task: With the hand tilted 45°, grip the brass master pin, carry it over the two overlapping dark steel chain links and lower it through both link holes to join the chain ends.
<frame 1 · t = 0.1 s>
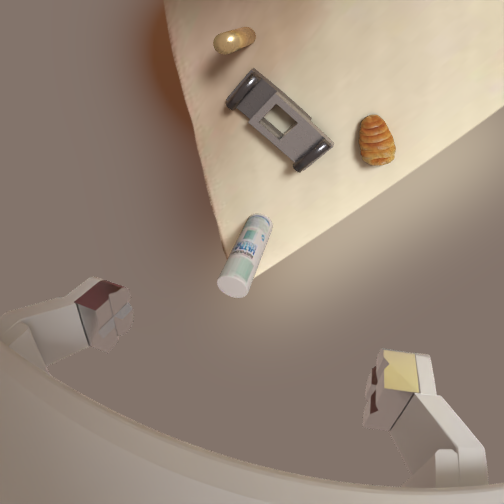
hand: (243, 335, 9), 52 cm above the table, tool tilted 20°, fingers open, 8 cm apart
pastry: (375, 139, 54), on the table
chain ends: (281, 116, 56), on the table
spray can: (260, 223, 77), on the table
master pin: (245, 36, 47), on the table
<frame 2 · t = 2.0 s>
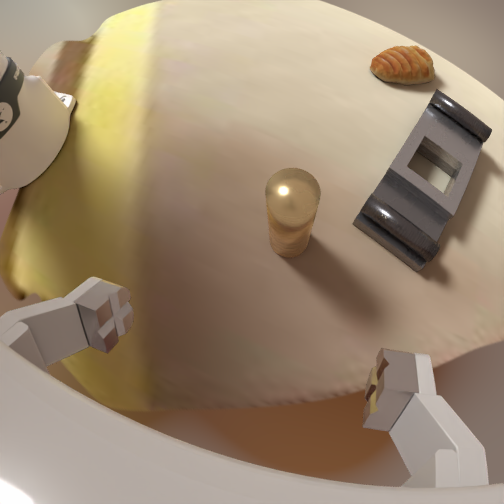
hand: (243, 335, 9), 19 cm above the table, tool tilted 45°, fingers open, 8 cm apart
pastry: (402, 73, 36), on the table
chain ends: (426, 178, 31), on the table
master pin: (289, 239, 30), on the table
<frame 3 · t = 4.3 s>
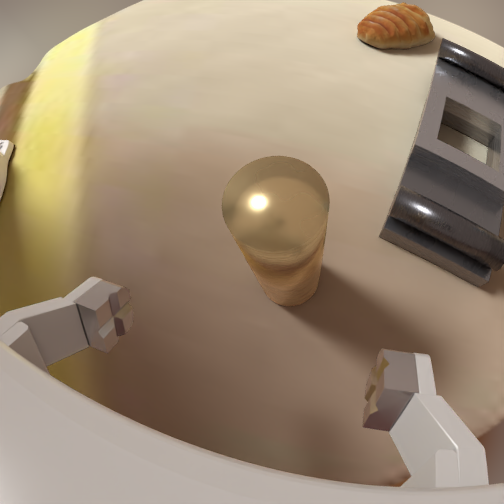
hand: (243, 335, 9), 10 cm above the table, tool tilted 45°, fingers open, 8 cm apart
pastry: (396, 37, 27), on the table
chain ends: (459, 154, 21), on the table
master pin: (290, 277, 20), on the table
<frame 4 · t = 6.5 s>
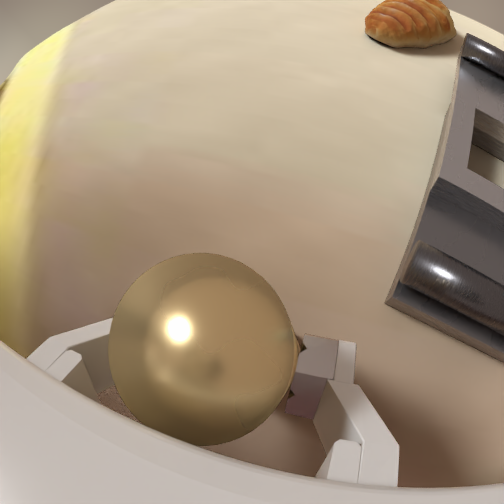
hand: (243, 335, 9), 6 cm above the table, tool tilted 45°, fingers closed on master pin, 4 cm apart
pastry: (410, 34, 22), on the table
chain ends: (488, 182, 16), on the table
master pin: (263, 358, 15), on the table, touching gripper
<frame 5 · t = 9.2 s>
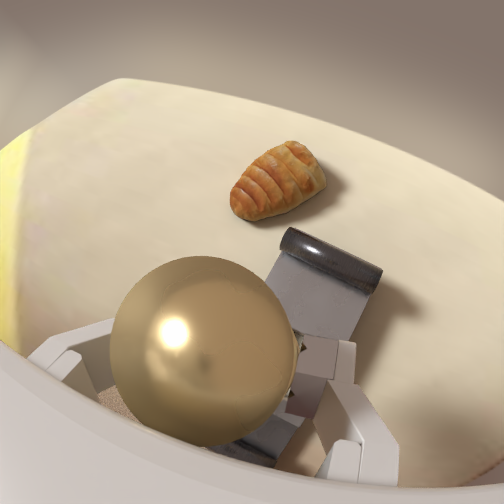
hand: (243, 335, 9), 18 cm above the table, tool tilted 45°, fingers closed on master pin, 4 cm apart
pastry: (281, 189, 32), on the table
chain ends: (282, 359, 26), on the table
master pin: (263, 359, 15), point 12 cm above the table, touching gripper
when the fingers open (7 cm above the table, at t = 12.0 s): master pin drops 1 cm, resting in chain ends.
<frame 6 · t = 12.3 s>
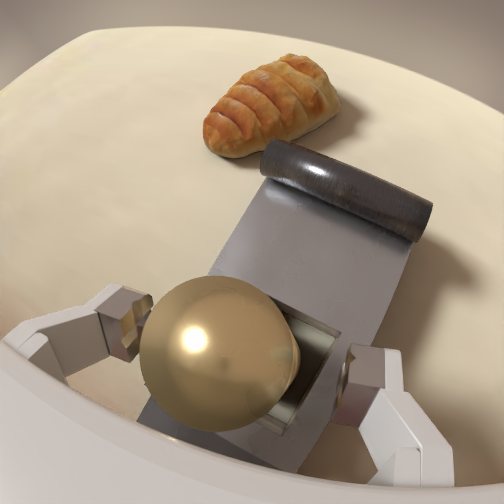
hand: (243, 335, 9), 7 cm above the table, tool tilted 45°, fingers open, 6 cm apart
pastry: (277, 119, 22), on the table
chain ends: (267, 358, 16), on the table
master pin: (266, 359, 16), resting in chain ends
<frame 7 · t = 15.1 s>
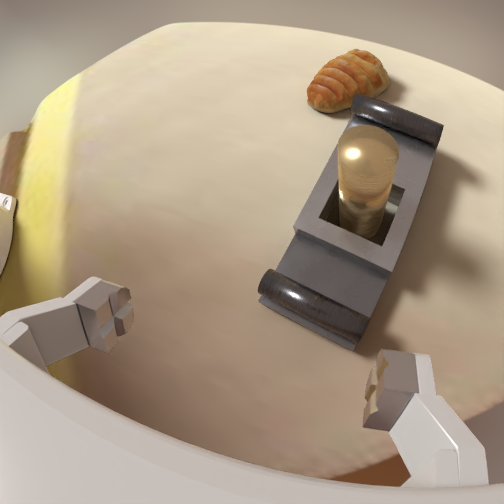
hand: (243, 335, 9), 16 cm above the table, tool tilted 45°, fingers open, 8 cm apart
pastry: (350, 91, 31), on the table
chain ends: (361, 218, 26), on the table
master pin: (360, 219, 26), resting in chain ends
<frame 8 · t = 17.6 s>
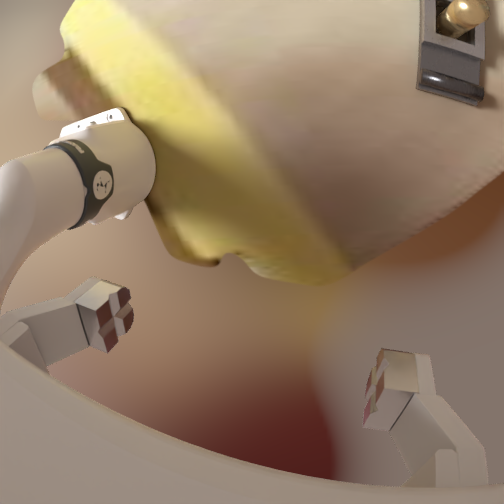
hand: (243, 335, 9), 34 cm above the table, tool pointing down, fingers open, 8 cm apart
chain ends: (449, 25, 26), on the table
master pin: (448, 26, 26), resting in chain ends
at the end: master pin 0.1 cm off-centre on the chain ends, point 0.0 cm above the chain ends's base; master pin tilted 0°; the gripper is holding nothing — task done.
